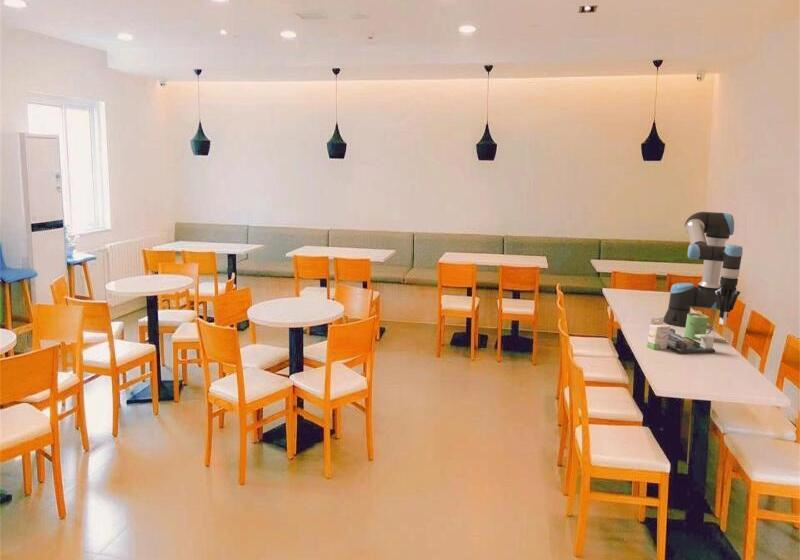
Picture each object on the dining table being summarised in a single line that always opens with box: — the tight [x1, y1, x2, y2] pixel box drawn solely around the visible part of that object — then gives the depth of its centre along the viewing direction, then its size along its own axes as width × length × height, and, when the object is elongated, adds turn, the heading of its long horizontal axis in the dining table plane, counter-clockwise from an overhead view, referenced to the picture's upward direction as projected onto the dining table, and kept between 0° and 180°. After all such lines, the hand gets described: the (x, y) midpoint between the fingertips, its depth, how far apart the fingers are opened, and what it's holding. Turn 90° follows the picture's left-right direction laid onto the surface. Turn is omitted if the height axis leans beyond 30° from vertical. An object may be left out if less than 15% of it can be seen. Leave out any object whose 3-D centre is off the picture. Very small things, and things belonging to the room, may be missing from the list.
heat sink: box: [668, 337, 685, 346], centre depth 312 cm, size 8×8×3 cm
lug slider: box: [695, 333, 715, 349], centre depth 306 cm, size 8×4×6 cm, turn 102°
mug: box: [683, 312, 713, 341], centre depth 330 cm, size 13×10×12 cm
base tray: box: [666, 327, 716, 355], centre depth 313 cm, size 20×22×6 cm
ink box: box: [646, 317, 671, 350], centre depth 308 cm, size 9×5×15 cm, turn 113°
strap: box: [669, 331, 694, 344], centre depth 311 cm, size 3×19×1 cm, turn 12°
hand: (722, 324), depth 306 cm, fingers closed
